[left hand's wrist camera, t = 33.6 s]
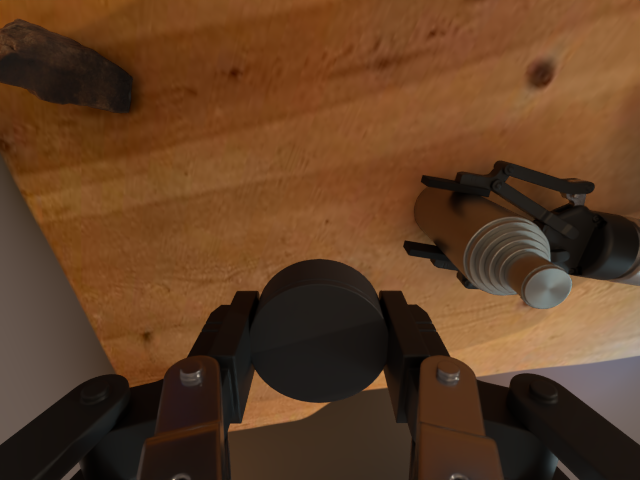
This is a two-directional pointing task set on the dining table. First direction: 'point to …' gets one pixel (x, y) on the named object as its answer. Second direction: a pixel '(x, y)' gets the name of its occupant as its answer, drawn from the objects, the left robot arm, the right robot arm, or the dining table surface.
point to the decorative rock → (61, 69)
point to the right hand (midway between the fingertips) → (415, 215)
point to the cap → (319, 332)
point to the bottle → (492, 246)
